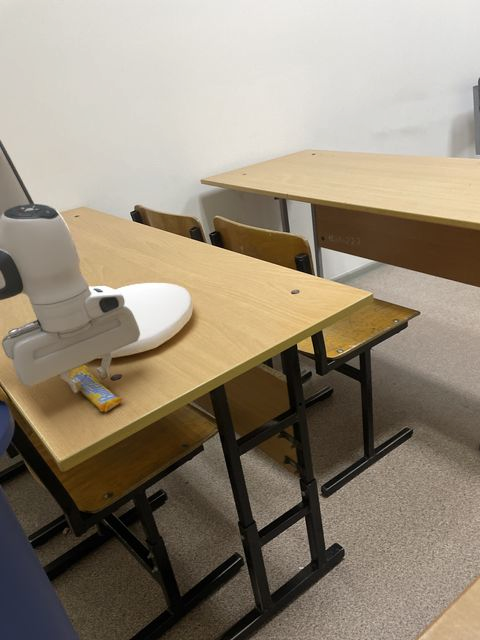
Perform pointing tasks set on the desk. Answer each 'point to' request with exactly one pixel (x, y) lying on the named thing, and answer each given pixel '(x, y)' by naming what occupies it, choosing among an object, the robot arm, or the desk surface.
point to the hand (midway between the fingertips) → (91, 383)
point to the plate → (155, 313)
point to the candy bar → (95, 389)
